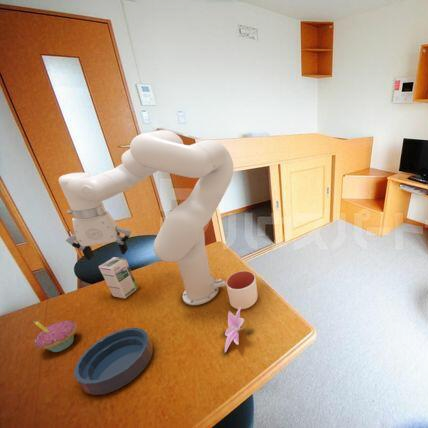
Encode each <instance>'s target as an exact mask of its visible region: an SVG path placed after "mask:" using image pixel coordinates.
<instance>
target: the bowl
mask: <svg viewBox="0 0 428 428" xmlns="http://www.w3.org/2000/svg"><path fill="white" fill-rule="evenodd" d="M153 353H154V347H153V343H152V342H151V339H150V336H149V334H148V333H147V332H146V331H145V330H144V329H142V328H138V327H126V328H123V329H119V330H116V331H114V332H112V333H109V334H107V335H106V336H103V337H102V338H100V339H99V340H97V341H96V342H94V343H93V344H92V345H91V346H90V347H89V348H88V349H86V350H85V351H84V353H82V355H81V356H80V357H79V358H78V360H77V363H76V364H75V366H74V368H73V369H74V371H73V376H74V378H75V379H76V381H77V383H78V384H79V386H80V387H81V388H82V389H83V392H84V393H86V394H89V395H91V396H100V395H101V396H102V395H107V394H110V393H113V392H116V391H118V390H119V389H121V388H123V387H125V386H127V385H128V384H129V383H131V382H132V381H133V380H135V379H136V378H137V377H139V375H140V374H141V373H142V372H143V371H144V370H145V369H146V368H147V367H148V365H149V363H150V361H151V359H152V357H153Z"/></svg>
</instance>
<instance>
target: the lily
mask: <svg viewBox="0 0 428 428" xmlns="http://www.w3.org/2000/svg"><path fill="white" fill-rule="evenodd" d="M241 310H242V309H241V307H240V308H239V309H237V311H236V313H235V315H234V313H232V312H231V310H228V314H227V325H228V327H227V328H226V330H225V332H224V336H226V339H225V343H224V354H225V353H227V351H228V349H229V347H230V345H231V343H232V342H234V343H235V345H237V346H239V342H240V341H239V333H240V331H241V330H244V331H246V332H248V333H251V331H250V330H248V329H246V328H243V327H242V325H243V324H244V322H245V318H242V317H241V316H240V315H241Z"/></svg>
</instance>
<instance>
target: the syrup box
mask: <svg viewBox="0 0 428 428" xmlns="http://www.w3.org/2000/svg"><path fill="white" fill-rule="evenodd" d="M98 269H99V272H100V273H101V275H102V277H103V279H104V281H105V283H106V285H107V287H108V288H109V291H110V293H111V295H112V296H113V297H115V298H119V299H127V298H128V297H129V296H131V294H133V293H134V292H136V291H137V290H138V289H139V286H138V284H137V282H136V280H135V277H134V275H133V272H132V270H131V268H130V266H129V263H128V261H127V259H126V258H124V257H118V256H117V257H116V256H113V257H111V259H109V260H107V261H105V262H103V263H101V264H100V265H98Z"/></svg>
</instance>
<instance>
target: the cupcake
mask: <svg viewBox="0 0 428 428" xmlns="http://www.w3.org/2000/svg"><path fill="white" fill-rule="evenodd" d="M32 323H34V325H35V326H37V327H38V328H39V329H41V330H42V331H41V332H39V333H38V334H37V335H36V338H35V339H34V343H33V344H34V346H35V347H36V348H37V349H39V350H48V351H50V352H52V353H58V352H62V351H64V350H65V349H68V348H70V346H71V345H72V344H73V343H74V340H75V339H74V337H75V336H74V335H76V332H77V330H78V325H77V324H76V323H75V322H74V321H70V320H63V321H59V322H55V323H52V324H50V325H48V326H47V327H45V326H44V325H42V324H41V323H40V322H39V321H35V320H33V322H32Z"/></svg>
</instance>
